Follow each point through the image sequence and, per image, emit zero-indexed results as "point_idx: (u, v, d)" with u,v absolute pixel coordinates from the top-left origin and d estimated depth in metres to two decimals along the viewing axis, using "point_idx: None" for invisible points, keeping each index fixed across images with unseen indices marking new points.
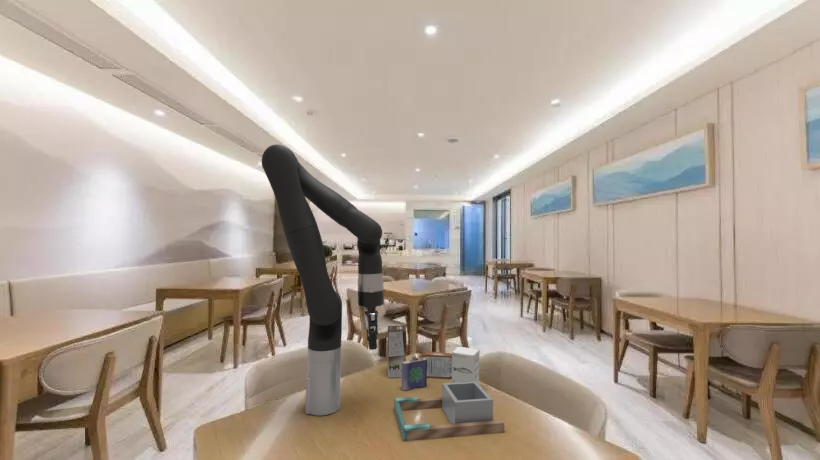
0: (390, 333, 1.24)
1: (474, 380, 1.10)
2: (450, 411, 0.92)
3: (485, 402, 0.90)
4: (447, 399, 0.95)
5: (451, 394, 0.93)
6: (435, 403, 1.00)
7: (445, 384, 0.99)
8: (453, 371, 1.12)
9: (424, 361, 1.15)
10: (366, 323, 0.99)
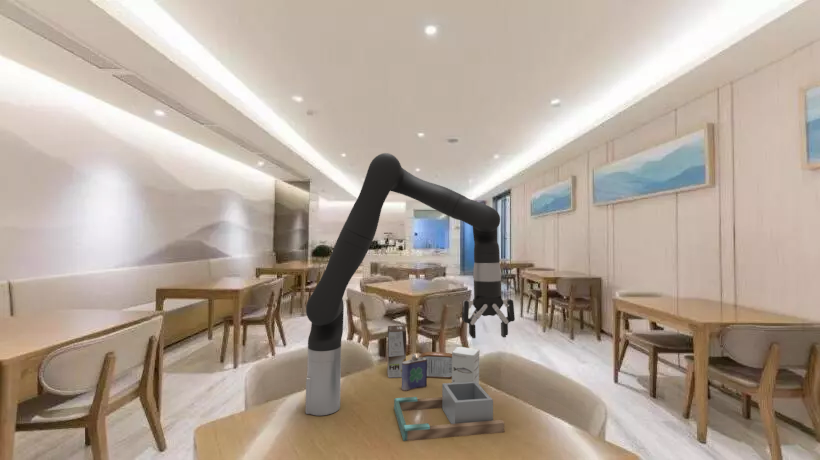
0: (390, 333, 1.24)
1: (474, 380, 1.10)
2: (450, 411, 0.92)
3: (485, 402, 0.90)
4: (447, 399, 0.95)
5: (451, 394, 0.93)
6: (435, 403, 1.00)
7: (445, 384, 0.99)
8: (453, 371, 1.12)
9: (424, 361, 1.15)
10: None
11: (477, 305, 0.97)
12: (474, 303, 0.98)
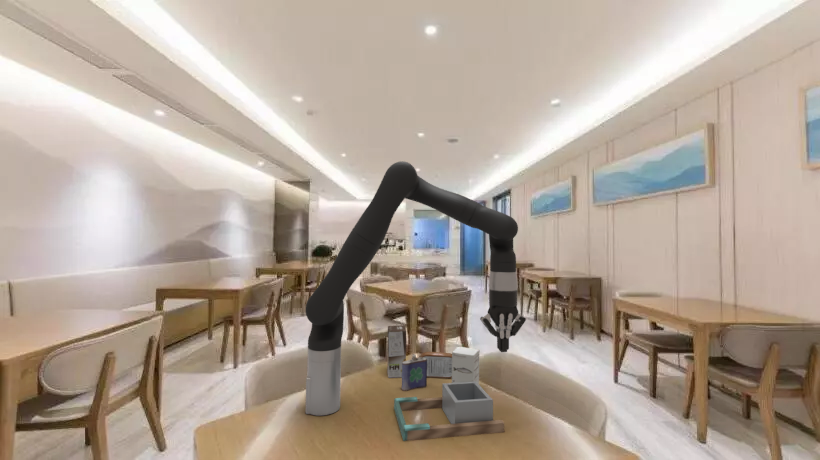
0: (390, 333, 1.24)
1: (474, 380, 1.10)
2: (450, 411, 0.92)
3: (485, 402, 0.90)
4: (447, 399, 0.95)
5: (451, 394, 0.93)
6: (435, 403, 1.00)
7: (445, 384, 0.99)
8: (453, 371, 1.12)
9: (424, 361, 1.15)
10: (511, 326, 0.96)
11: (495, 314, 0.96)
12: (491, 315, 0.96)
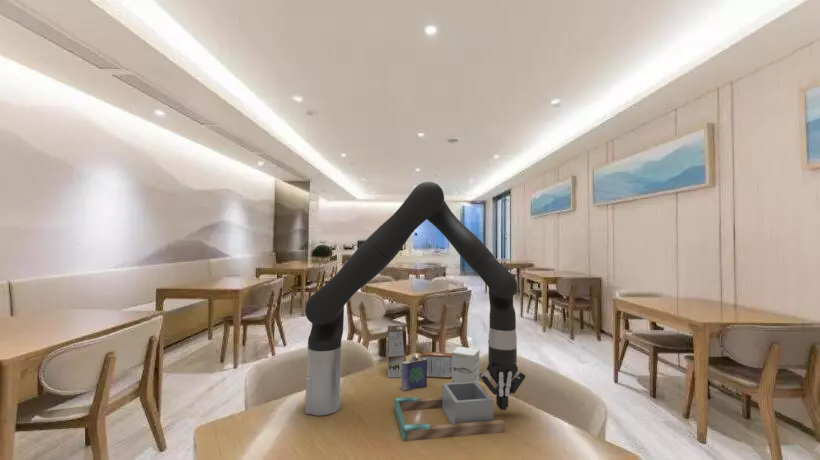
0: (390, 333, 1.24)
1: (474, 380, 1.10)
2: (450, 411, 0.92)
3: (485, 402, 0.90)
4: (447, 399, 0.95)
5: (451, 394, 0.93)
6: (435, 403, 1.00)
7: (445, 384, 0.99)
8: (453, 371, 1.12)
9: (424, 361, 1.15)
10: (510, 384, 0.96)
11: (494, 372, 0.95)
12: (490, 373, 0.95)
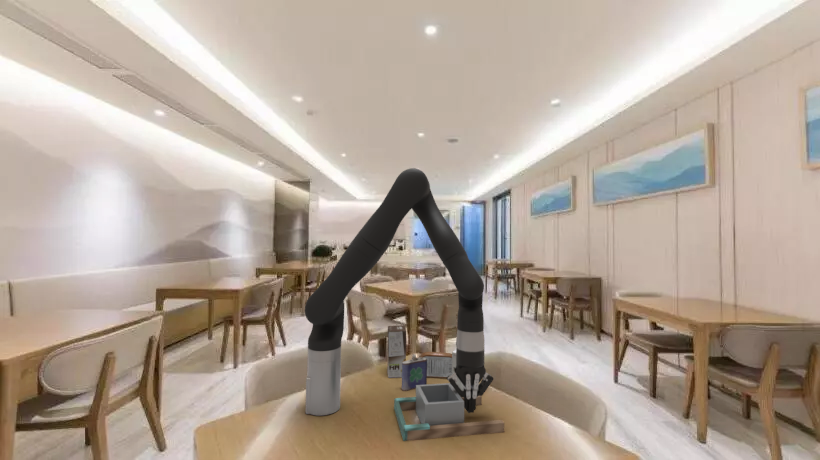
0: (390, 333, 1.24)
1: None
2: (422, 413, 0.90)
3: (456, 404, 0.88)
4: (419, 401, 0.93)
5: (423, 396, 0.91)
6: None
7: (418, 386, 0.98)
8: (453, 371, 1.12)
9: (424, 361, 1.15)
10: (478, 386, 0.94)
11: (461, 374, 0.94)
12: (457, 375, 0.94)
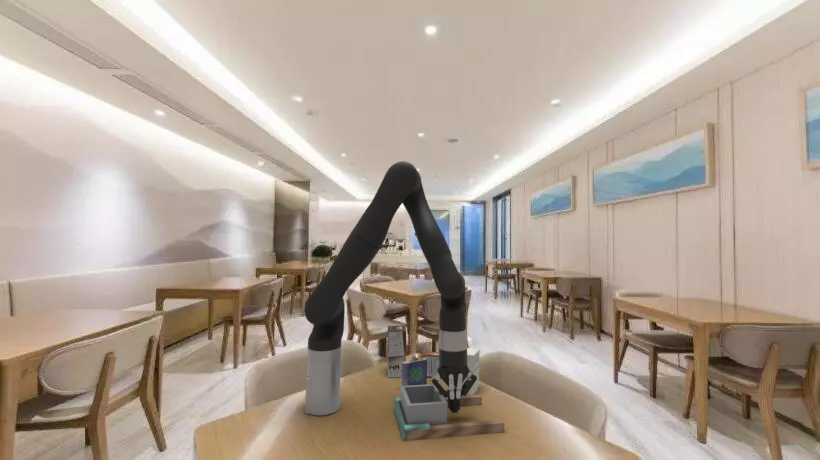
0: (390, 333, 1.24)
1: None
2: (404, 414, 0.90)
3: (439, 405, 0.87)
4: (403, 402, 0.93)
5: (406, 397, 0.91)
6: None
7: (403, 387, 0.97)
8: None
9: (424, 361, 1.15)
10: (461, 386, 0.93)
11: (444, 375, 0.93)
12: (440, 375, 0.93)
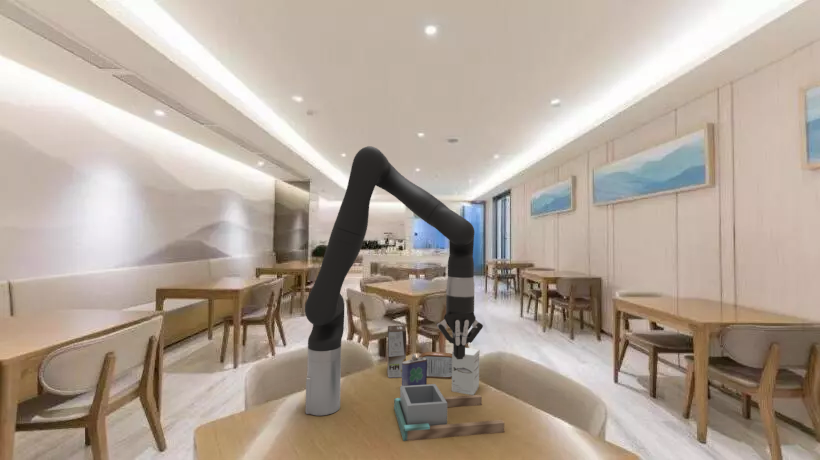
0: (390, 333, 1.24)
1: (474, 380, 1.10)
2: (405, 414, 0.90)
3: (439, 405, 0.87)
4: (403, 402, 0.93)
5: (406, 397, 0.91)
6: None
7: (403, 387, 0.97)
8: (453, 371, 1.12)
9: (424, 361, 1.15)
10: (467, 332, 0.94)
11: (450, 321, 0.94)
12: (447, 321, 0.94)
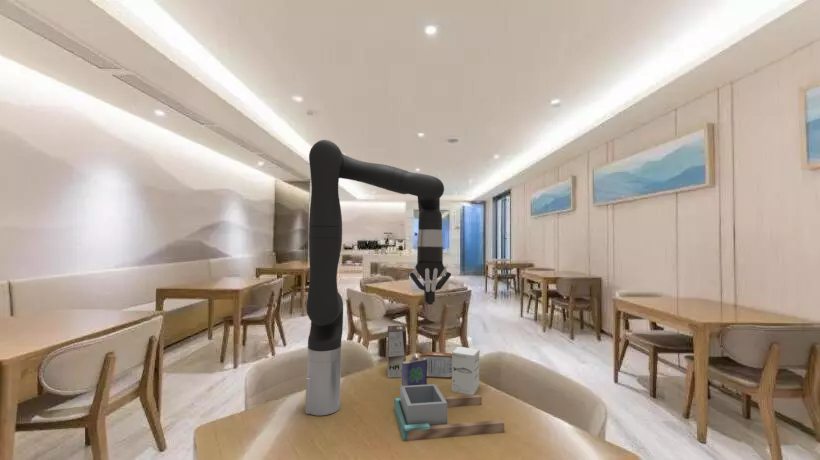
0: (390, 333, 1.24)
1: (474, 380, 1.10)
2: (405, 414, 0.90)
3: (439, 405, 0.87)
4: (403, 402, 0.93)
5: (406, 397, 0.91)
6: None
7: (403, 387, 0.97)
8: (453, 371, 1.12)
9: (424, 361, 1.15)
10: (436, 280, 1.03)
11: (421, 269, 1.03)
12: (418, 269, 1.03)
